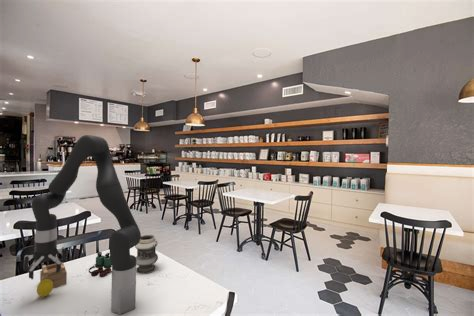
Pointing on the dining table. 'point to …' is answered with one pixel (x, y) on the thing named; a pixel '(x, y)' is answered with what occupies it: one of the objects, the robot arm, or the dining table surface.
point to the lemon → (44, 287)
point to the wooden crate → (54, 275)
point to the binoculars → (101, 265)
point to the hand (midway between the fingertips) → (45, 275)
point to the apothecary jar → (146, 254)
